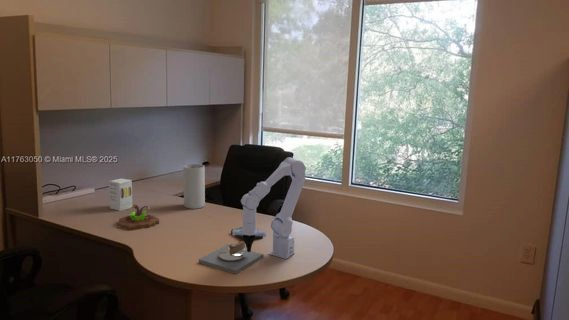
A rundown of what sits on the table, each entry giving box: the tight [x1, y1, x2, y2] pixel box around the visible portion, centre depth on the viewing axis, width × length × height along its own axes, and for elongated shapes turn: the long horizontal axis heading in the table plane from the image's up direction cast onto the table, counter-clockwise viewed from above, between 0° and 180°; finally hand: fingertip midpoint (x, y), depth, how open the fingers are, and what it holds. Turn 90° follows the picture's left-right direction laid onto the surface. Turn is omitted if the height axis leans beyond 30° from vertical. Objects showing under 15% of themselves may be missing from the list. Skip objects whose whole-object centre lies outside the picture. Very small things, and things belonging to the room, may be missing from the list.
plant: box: [117, 204, 160, 231], centre depth 234 cm, size 20×20×11 cm
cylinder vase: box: [182, 163, 206, 210], centre depth 266 cm, size 12×12×25 cm
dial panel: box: [198, 244, 264, 275], centre depth 191 cm, size 20×20×2 cm
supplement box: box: [108, 177, 133, 212], centre depth 259 cm, size 10×9×17 cm
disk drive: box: [230, 226, 264, 241], centre depth 221 cm, size 10×3×15 cm
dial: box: [219, 240, 246, 262], centre depth 192 cm, size 14×11×5 cm
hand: (249, 251), depth 192 cm, fingers closed
